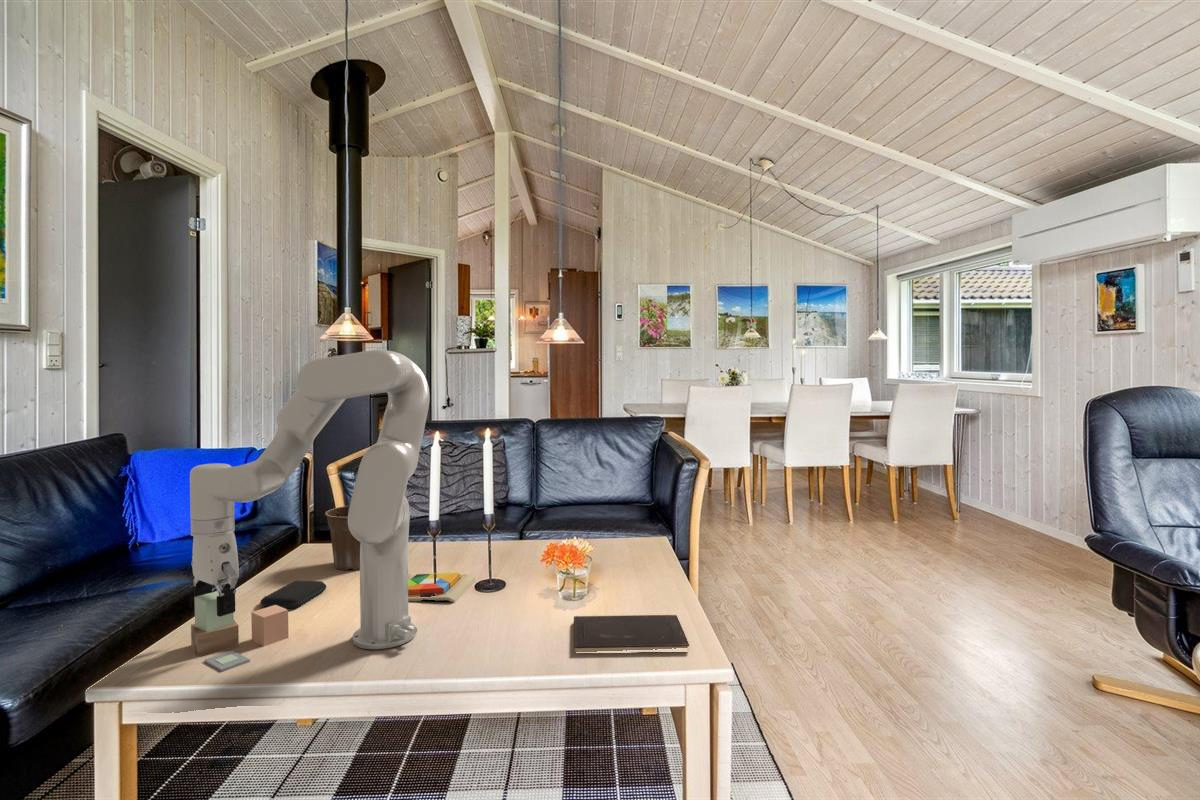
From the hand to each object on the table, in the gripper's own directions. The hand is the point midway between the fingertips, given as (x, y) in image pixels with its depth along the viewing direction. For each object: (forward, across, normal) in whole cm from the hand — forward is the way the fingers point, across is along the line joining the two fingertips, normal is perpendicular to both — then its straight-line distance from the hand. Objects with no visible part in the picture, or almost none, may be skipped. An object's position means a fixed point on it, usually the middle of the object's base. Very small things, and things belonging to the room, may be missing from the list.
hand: (214, 609), depth 123 cm
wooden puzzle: (+8, -10, -47) cm, 49 cm away
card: (+7, -10, +2) cm, 12 cm away
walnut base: (+8, 0, 0) cm, 8 cm away
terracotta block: (+8, -6, -8) cm, 13 cm away
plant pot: (+8, +25, -49) cm, 56 cm away
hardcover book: (+8, -67, -51) cm, 85 cm away
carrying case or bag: (+8, +13, -23) cm, 28 cm away
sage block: (+3, 0, 0) cm, 3 cm away
